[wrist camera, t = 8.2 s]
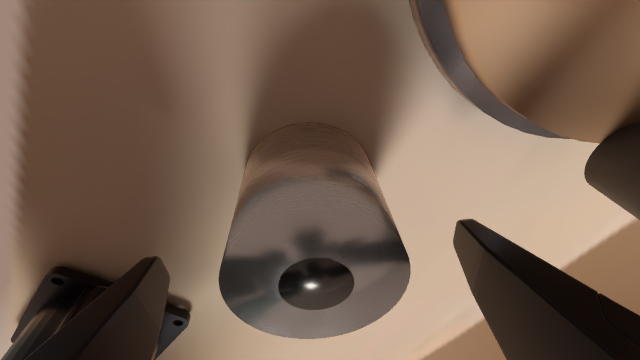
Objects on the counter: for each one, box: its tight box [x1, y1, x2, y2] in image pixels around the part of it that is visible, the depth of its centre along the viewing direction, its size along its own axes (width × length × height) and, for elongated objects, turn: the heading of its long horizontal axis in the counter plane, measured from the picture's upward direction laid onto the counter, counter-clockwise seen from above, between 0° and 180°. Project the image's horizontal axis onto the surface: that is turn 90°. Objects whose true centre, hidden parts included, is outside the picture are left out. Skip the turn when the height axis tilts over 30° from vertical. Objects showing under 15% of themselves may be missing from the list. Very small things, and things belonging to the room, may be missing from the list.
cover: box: [219, 123, 410, 339], centre depth 10 cm, size 5×5×5 cm
